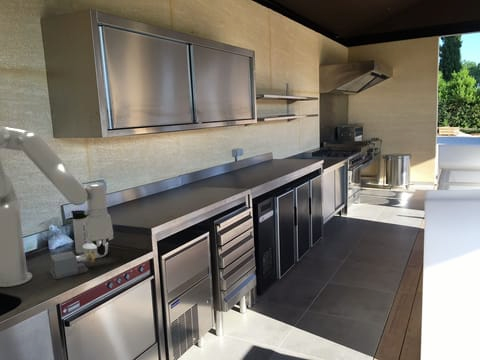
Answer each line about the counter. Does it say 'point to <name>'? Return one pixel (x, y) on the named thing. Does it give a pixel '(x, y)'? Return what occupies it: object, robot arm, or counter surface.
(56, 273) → the bearing housing
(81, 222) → the travel mug
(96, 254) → the ramekin
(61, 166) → the robot arm
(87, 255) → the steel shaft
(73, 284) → the counter surface
